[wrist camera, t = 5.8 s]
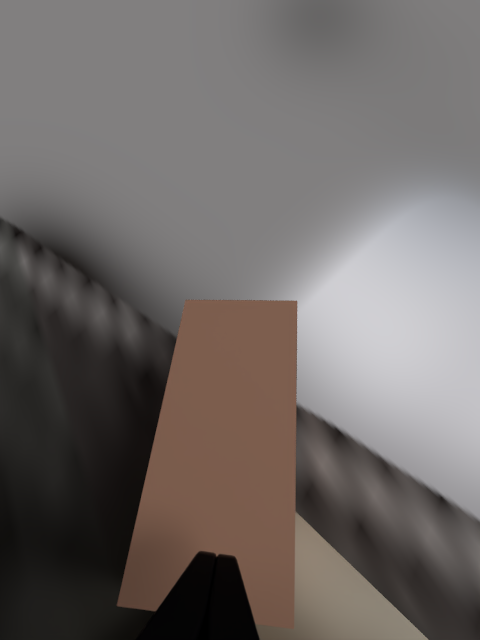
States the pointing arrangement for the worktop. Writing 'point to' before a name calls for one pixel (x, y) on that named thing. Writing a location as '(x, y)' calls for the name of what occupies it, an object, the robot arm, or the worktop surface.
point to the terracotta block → (223, 458)
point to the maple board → (335, 599)
